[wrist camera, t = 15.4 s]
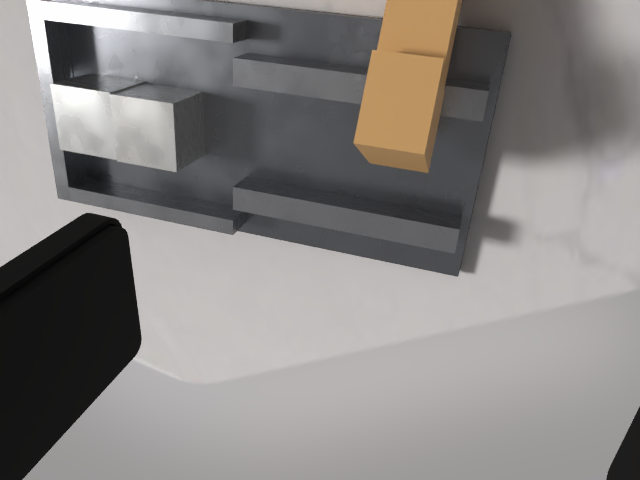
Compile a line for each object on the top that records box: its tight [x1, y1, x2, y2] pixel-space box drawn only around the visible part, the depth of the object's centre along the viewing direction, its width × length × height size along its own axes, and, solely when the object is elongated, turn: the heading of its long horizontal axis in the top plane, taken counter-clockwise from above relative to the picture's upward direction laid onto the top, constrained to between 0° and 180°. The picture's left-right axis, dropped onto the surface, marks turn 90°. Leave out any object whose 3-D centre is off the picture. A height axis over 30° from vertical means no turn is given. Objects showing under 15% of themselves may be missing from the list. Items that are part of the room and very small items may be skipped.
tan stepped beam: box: [354, 0, 462, 173], centre depth 25 cm, size 5×3×12 cm
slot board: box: [26, 0, 511, 276], centre depth 33 cm, size 14×27×3 cm, turn 86°
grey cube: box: [110, 83, 205, 172], centre depth 33 cm, size 4×4×4 cm
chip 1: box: [50, 74, 145, 160], centre depth 34 cm, size 4×4×4 cm
